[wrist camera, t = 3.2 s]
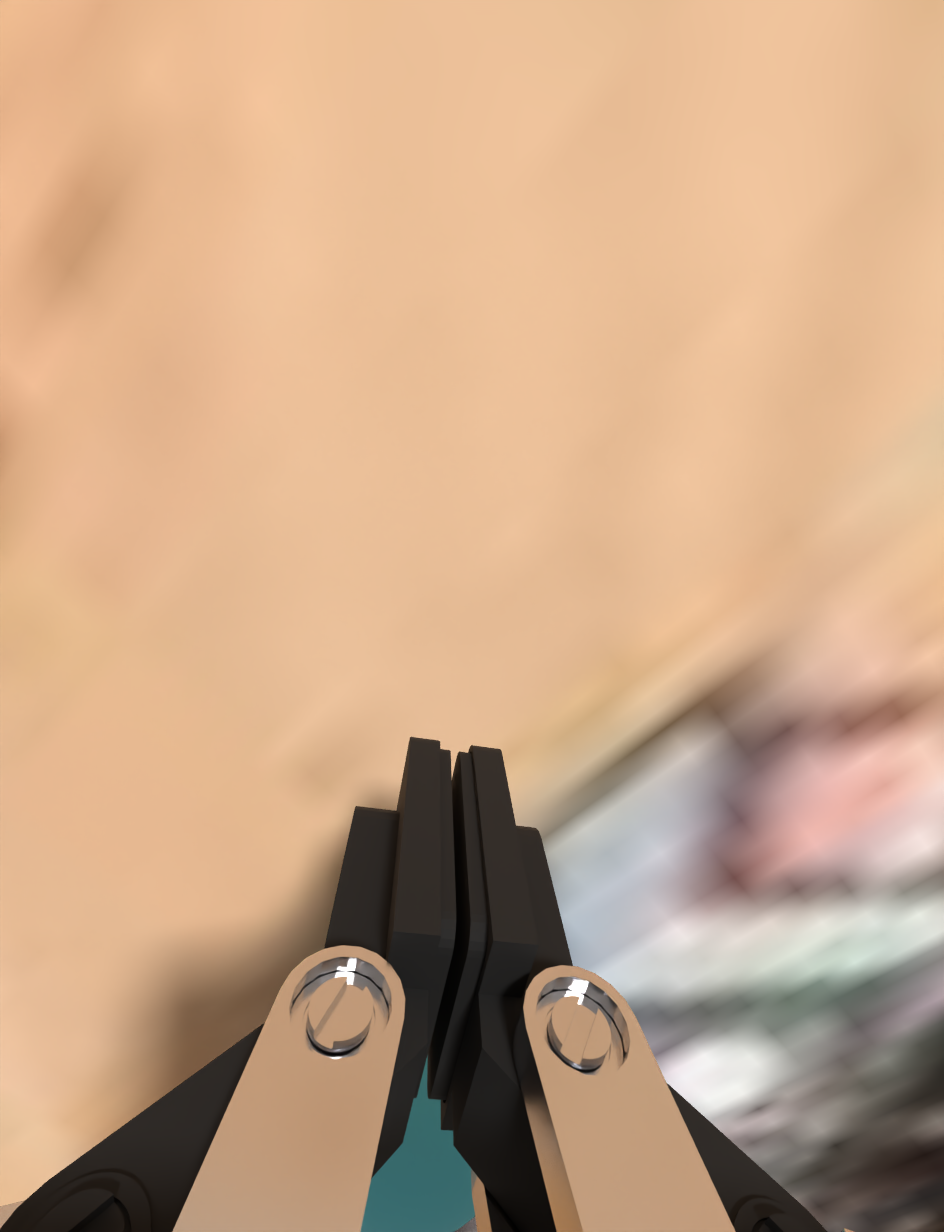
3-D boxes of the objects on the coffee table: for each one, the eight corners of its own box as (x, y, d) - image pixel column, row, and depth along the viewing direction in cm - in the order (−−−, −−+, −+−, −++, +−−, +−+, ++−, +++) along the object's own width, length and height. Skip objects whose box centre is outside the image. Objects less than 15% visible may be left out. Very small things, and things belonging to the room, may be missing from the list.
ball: (537, 905, 16) (578, 1157, 11) (496, 1038, 18) (512, 1313, 13) (339, 878, 16) (273, 1127, 10) (318, 1018, 18) (252, 1294, 12)
